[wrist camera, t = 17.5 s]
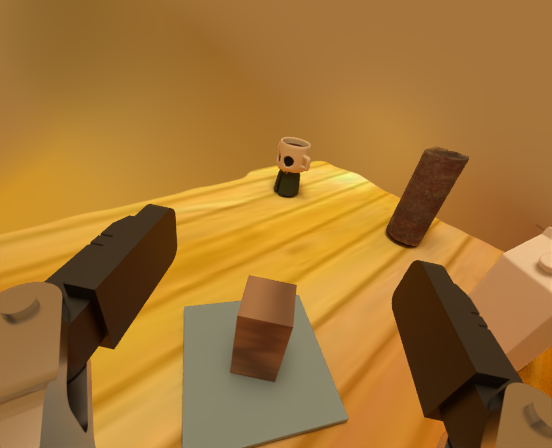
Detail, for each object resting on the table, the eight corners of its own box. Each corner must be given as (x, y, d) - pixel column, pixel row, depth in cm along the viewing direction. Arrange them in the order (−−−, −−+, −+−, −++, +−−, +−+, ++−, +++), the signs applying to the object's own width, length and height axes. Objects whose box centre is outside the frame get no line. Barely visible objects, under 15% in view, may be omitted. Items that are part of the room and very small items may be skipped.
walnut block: (229, 372, 29) (237, 315, 23) (240, 332, 33) (249, 275, 27) (274, 382, 29) (293, 327, 23) (279, 340, 33) (296, 285, 27)
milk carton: (475, 325, 41) (570, 226, 31) (517, 372, 36) (651, 271, 25) (437, 329, 39) (526, 225, 29) (476, 379, 34) (602, 273, 23)
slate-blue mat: (182, 466, 23) (182, 463, 22) (184, 310, 35) (184, 306, 35) (346, 421, 27) (348, 418, 27) (297, 298, 40) (298, 294, 39)
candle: (402, 252, 54) (455, 159, 43) (376, 231, 59) (417, 143, 48) (425, 245, 58) (479, 158, 47) (399, 226, 63) (442, 143, 52)
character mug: (261, 185, 69) (269, 135, 62) (282, 180, 73) (291, 133, 66) (289, 205, 63) (301, 152, 55) (310, 199, 67) (323, 149, 60)
